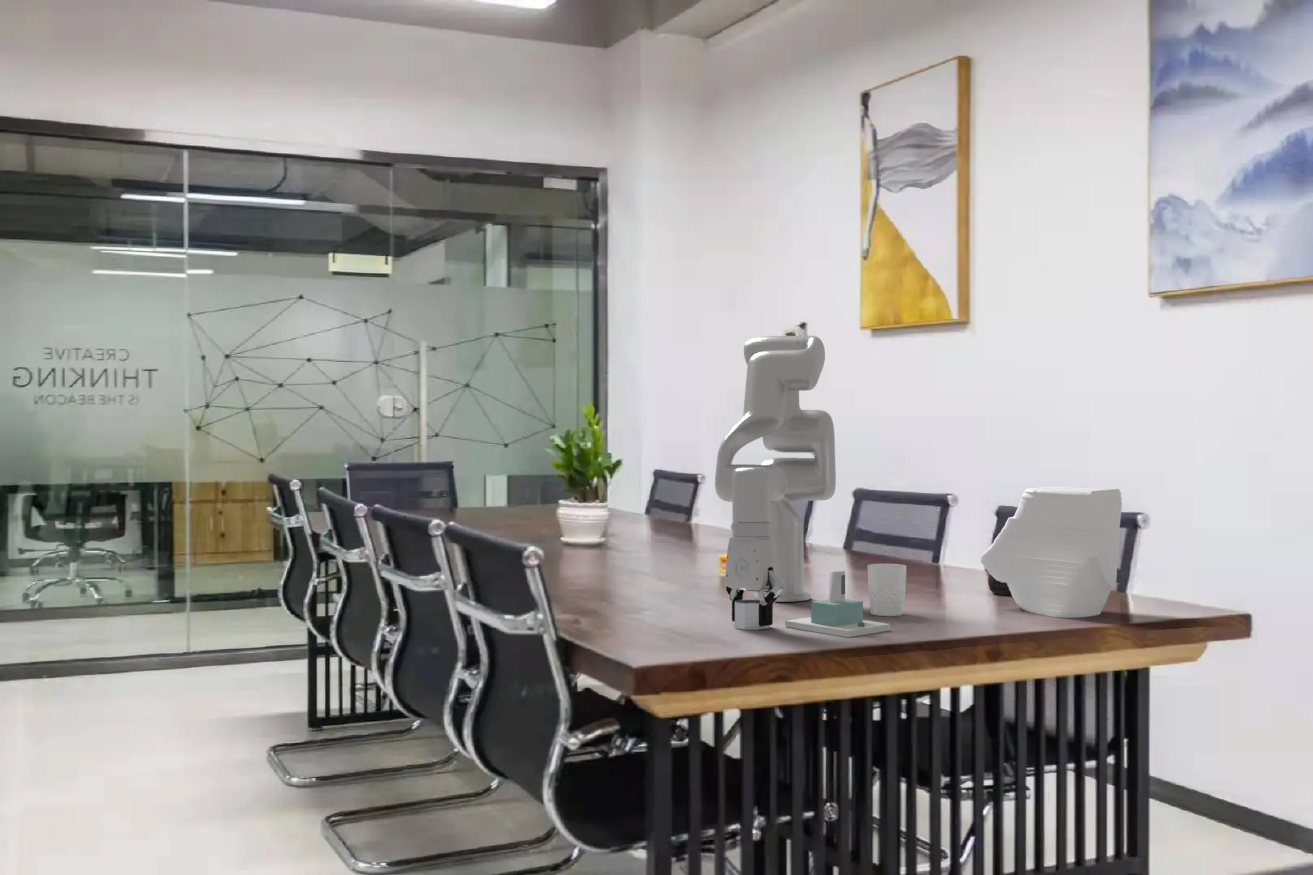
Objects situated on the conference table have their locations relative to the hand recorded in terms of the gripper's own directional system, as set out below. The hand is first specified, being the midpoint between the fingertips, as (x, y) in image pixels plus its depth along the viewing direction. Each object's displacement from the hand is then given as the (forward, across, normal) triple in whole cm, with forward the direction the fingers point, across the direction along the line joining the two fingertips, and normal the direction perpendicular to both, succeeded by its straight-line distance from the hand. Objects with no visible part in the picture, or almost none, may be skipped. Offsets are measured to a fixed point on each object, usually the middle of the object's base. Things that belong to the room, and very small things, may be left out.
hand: (752, 622), depth 247 cm
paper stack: (+1, +26, +65) cm, 70 cm away
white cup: (+1, +6, +33) cm, 34 cm away
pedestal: (+1, +12, +11) cm, 16 cm away
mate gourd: (+1, +4, +77) cm, 77 cm away
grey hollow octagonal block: (+1, 0, 0) cm, 1 cm away
